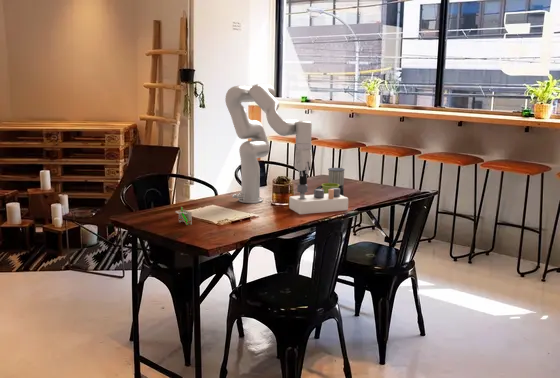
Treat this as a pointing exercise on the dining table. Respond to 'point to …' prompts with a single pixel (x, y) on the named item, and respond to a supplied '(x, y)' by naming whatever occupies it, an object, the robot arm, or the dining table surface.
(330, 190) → the dial post
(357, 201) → the dining table surface
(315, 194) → the knob mid
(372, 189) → the dining table surface
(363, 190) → the dining table surface
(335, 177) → the milk frother
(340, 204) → the white rectangular block
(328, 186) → the plant pot
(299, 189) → the knob near
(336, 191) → the knob far
